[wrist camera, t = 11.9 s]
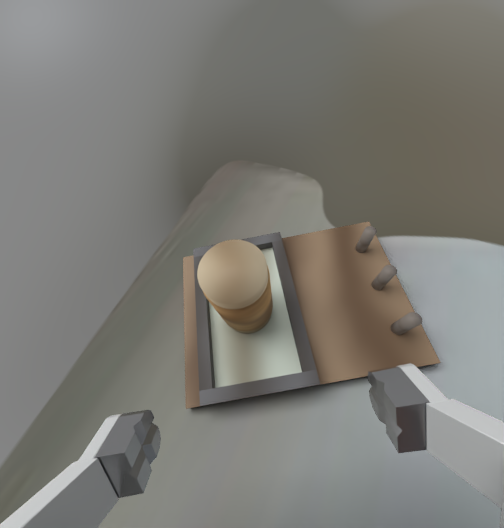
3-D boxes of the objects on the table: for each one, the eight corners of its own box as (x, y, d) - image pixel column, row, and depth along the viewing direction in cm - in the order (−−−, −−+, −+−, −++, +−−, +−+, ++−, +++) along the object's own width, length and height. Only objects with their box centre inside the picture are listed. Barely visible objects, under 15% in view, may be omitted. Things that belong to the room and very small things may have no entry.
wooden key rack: (365, 227, 26) (378, 201, 23) (433, 364, 19) (466, 357, 16) (186, 262, 27) (171, 241, 23) (190, 408, 20) (170, 410, 16)
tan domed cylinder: (267, 281, 23) (261, 232, 16) (277, 329, 21) (275, 296, 14) (221, 290, 23) (194, 245, 16) (225, 339, 21) (197, 311, 14)
